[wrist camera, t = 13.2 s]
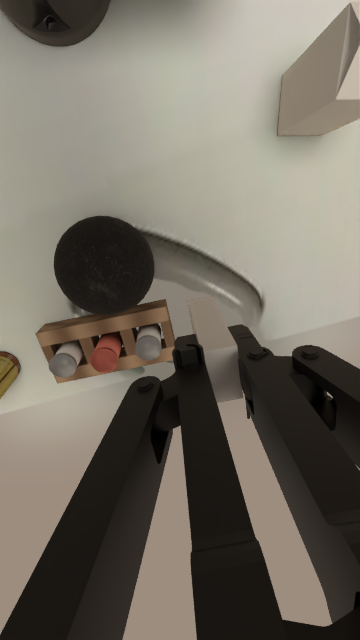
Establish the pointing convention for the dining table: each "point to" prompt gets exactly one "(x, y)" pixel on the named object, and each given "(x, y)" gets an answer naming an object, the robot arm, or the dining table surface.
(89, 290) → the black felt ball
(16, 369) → the sauce bottle
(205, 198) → the dining table surface
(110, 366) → the plug red
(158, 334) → the grey plug
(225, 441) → the robot arm
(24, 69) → the dining table surface
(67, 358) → the grey plug
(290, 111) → the milk carton
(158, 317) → the board
